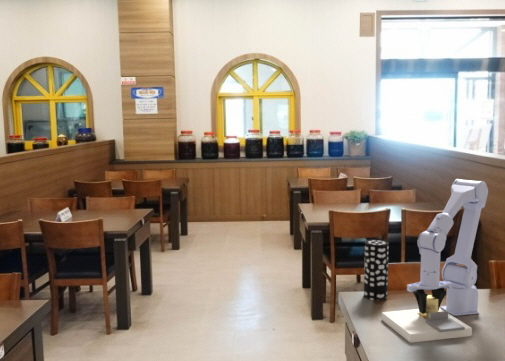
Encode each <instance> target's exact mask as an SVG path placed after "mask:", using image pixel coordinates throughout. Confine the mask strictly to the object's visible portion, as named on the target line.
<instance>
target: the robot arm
mask: <svg viewBox="0 0 505 361" xmlns="http://www.w3.org/2000/svg"><path fill="white" fill-rule="evenodd" d="M450 193H451V195H450V197H449V199H448V201H447V203H446V205H445V207H444V208H443V210H442V212H440V213H437V214H436V216H434V218H433V220H432V222H431V223H430V224H429V226H428V227H427V229H426V230H424V231H423V232H421V233H419V236H418V237H417V240H416V241H417V247H418V250H419V252H418V253H419V255H420V273H419V274H420V277H419V278H420V279H419V280H420V281H417V282H414V283H409V284H406V291H407V292H409V293H412V294H413V295H414V297H415V299H416V302H417V308H418V309H419V312H421V313H422V314H425V304H426V299H427V296H428V295H429V294H427V293H426V291H431V295H432V296H434V297H436V298H438V311H439V308H440V309H442V310H444V311H447V312H448V314H450V315H452V316H453V317H456V316H465V315H476V314H480V311H478V309H479V308H478V307H479V306H478V305H479V291H478V288H477V286H476V285H475V284H476V282H477V278H478V273H477V271H478V265H477V264H476V263H475V261H473V259H472V252H473V248H474V243H475V240H476V236H477V235H476V234H477V231H478V225H479V221H480V217H481V213H482V209H483V208H485V207H486V203H487V198H488V195H489V189H488V185H487V183H486V182H485V181H484V180H469V179H461V178H456V179H455V180H454V181H453V182H452V185H451V187H450ZM462 207H463V209H464V210H463V213H462V219H461V222H460V228H459V231H458V237H457V240H456V241H457V242H456V245H455V250H454V254H452V255H451V256H449V257H447V258H446V260H445V262H444V265H443V266H442V269H441V252H442V251H443V250H444V248H445V246H446V241H447V236H448V234H449V232H450V230H451V228H452V227H453V226H454V220H453V219H454V217H455V216H456V215H457V213H458V212H459V211H460V210H461V208H462ZM440 272H441V273H440ZM440 274H441V275H440ZM440 276H441V278H442V280H440V279H441V278H440ZM445 289H446V290H445ZM445 297H446V298H445ZM444 298H445V299H446V303H445V305H441V304H442V302H443V300H444Z"/></svg>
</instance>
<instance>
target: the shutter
mask: <svg viewBox="0 0 505 361" xmlns="http://www.w3.org/2000/svg"><path fill="white" fill-rule="evenodd" d="M448 314H449V313H448V312H447V311H445V310H444V312H433V313H429V319H426V323H428V324H429V325H430V326H432V327H433V328H435V329H436V330H438V331H439V332H448V331H457V330H465V327H464V326H462V325H461V324H459V323H458V322H456V321H454V320H453V319H451V318H450V317H448Z"/></svg>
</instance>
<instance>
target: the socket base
mask: <svg viewBox="0 0 505 361" xmlns="http://www.w3.org/2000/svg"><path fill="white" fill-rule="evenodd" d="M444 311H445V310H443V309H442V308H441V307H439V311H438V312H444ZM448 317H450V318H451V319H453V320H454V321H456V322H458V323H459V324H461V325H462V326H464V327H465V330H457V331H448V332H439V331H438V330H436V329H435V328H433V327H432V326H430V325H429V324H428V323H426V319H425V318H423V317H422V316H420V315H419V308H413V309H402V310H392V311H391V310H390V311H383V312H381V321H383V322H384V323H385V324H386V325H388V327H390V328H391V329H392V330H394V331H395V332H396V333H397V334H399V335H400V336H401V337H403V338H404V339H405V340H406V341H407V342H408V343H418V342H427V341H436V340H437V341H438V340H446V339H456V338H465V337H472V336H473V332H472V331H473V330H472V329H473V327H471V325H468V324H466V323H465V322H463V321H462V320H460V319H458V318H456V316H453V315H452V314H450V313H448Z"/></svg>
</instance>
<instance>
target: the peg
mask: <svg viewBox="0 0 505 361" xmlns="http://www.w3.org/2000/svg"><path fill="white" fill-rule="evenodd" d="M427 295H428V296H427V299H426V304H425V314H422V313H421V312H419V315H420V316H422V317H423V318H425V319H429V313H433V312H438V298H436V297H434V296H432V294H427Z"/></svg>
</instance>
